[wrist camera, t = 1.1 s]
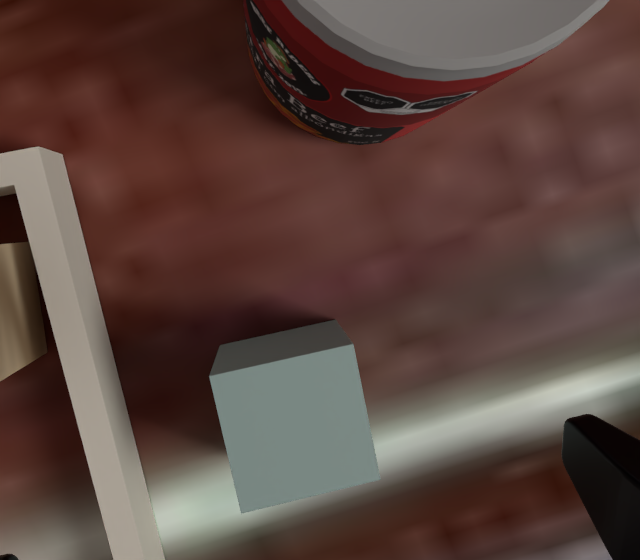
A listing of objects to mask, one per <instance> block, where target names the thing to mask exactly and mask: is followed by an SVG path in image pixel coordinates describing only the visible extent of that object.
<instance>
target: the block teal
mask: <svg viewBox="0 0 640 560" xmlns="http://www.w3.org/2000/svg"><path fill="white" fill-rule="evenodd" d="M209 378H210V382H211V386H212V391H213V395H214V399H215V403H216V408H217V412H218V416H219V421H220V425H221V429H222V433H223V438H224V442H225V446H226V450H227V455H228V459H229V463H230V468H231V472H232V476H233V480H234V485H235V489H236V493H237V497H238V502H239V506H240V510H241V513H245V512H250V511H254V510H258V509H262V508H266V507H270V506H274V505H278V504H282V503H287V502H291V501H295V500H299V499H303V498H307V497H311V496H315V495H319V494H323V493H328V492H332V491H336V490H340V489H344V488H348V487H352V486H356V485H360V484H365V483H369V482H373V481H377V480H381V479H380V474H379V469H378V464H377V459H376V454H375V449H374V444H373V439H372V434H371V430H370V425H369V420H368V415H367V410H366V405H365V400H364V395H363V390H362V385H361V380H360V375H359V370H358V365H357V360H356V355H355V350H354V345H353V343H352V342H351V340H350V339H349V337H348V336H347V335H346V333H345V332H344V331H343V329H342V328H341V326H340V325H339V324H338V322H337V321H336V320H331V321H327V322H322V323H318V324H313V325H309V326H304V327H300V328H295V329H291V330H286V331H282V332H277V333H273V334H268V335H264V336H259V337H255V338H250V339H245V340H241V341H236V342H232V343H227V344H223V345H220V346H219V349H218V352H217V355H216V358H215V361H214V364H213V366H212V369H211V372H210V375H209Z"/></svg>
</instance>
